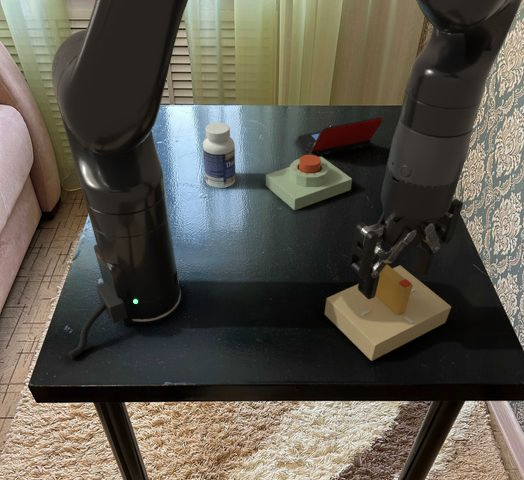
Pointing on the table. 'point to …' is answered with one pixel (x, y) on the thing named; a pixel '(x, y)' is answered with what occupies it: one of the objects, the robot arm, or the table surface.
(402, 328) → the plate
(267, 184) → the pale green button base
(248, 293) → the table surface
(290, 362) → the table surface
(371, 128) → the handheld game console
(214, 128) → the pill bottle
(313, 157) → the bell button
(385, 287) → the lock knob
